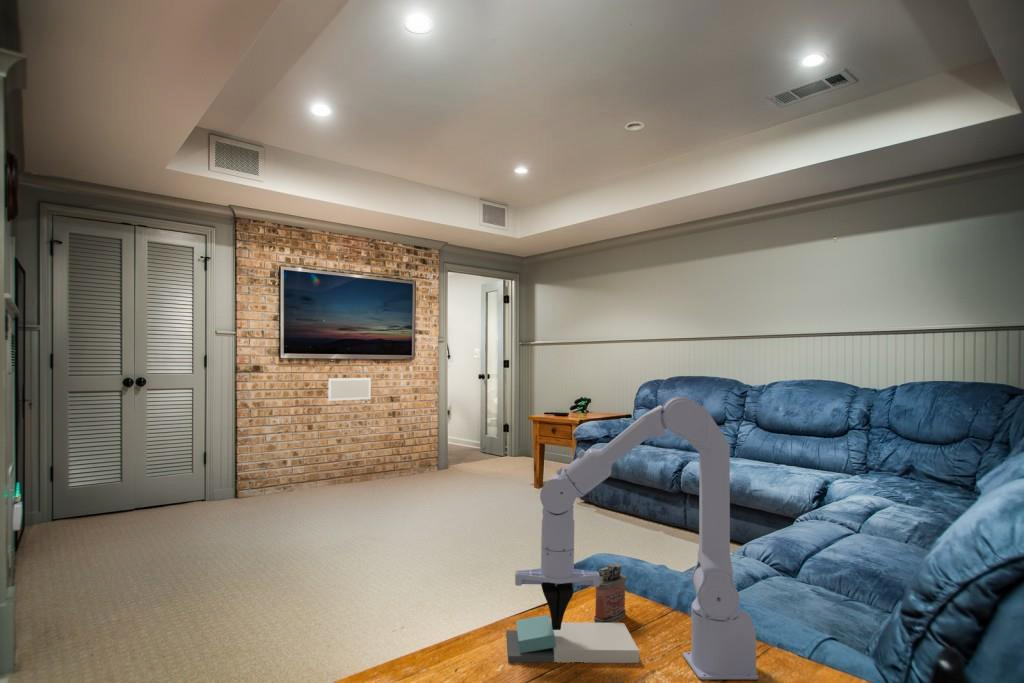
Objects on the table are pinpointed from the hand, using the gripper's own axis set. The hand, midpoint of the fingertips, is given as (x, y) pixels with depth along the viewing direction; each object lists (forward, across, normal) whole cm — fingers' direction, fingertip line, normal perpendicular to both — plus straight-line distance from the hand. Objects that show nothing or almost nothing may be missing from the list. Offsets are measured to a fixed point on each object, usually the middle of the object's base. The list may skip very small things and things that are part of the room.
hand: (556, 627), depth 97 cm
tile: (+2, +3, 0) cm, 4 cm away
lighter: (+4, -12, -12) cm, 18 cm away
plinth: (+3, -6, 0) cm, 7 cm away
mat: (+3, +5, 0) cm, 6 cm away
